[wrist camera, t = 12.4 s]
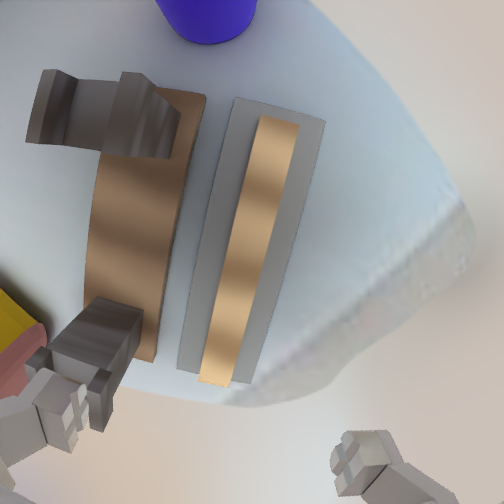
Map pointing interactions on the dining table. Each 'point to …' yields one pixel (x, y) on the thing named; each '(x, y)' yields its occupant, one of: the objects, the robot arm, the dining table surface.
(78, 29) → the dining table surface
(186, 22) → the bottle
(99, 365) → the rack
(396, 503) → the robot arm
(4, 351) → the alarm clock
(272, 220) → the rail
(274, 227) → the mat
